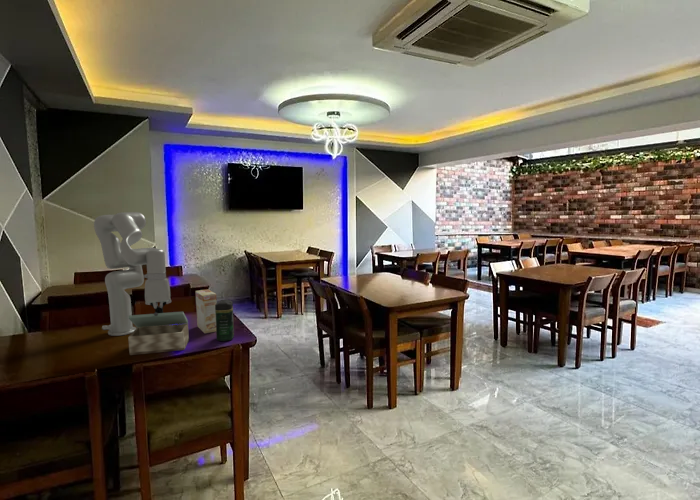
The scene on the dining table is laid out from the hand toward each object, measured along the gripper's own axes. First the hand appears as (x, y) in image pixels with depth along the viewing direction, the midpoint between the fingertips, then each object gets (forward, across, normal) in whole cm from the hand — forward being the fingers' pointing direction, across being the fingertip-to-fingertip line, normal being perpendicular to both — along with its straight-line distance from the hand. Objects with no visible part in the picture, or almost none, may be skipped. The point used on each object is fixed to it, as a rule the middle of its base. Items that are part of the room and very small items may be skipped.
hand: (159, 316), depth 181 cm
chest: (+14, 0, -2) cm, 14 cm away
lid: (+2, 0, -1) cm, 2 cm away
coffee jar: (+14, +28, +2) cm, 31 cm away
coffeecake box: (+14, +18, +21) cm, 31 cm away
